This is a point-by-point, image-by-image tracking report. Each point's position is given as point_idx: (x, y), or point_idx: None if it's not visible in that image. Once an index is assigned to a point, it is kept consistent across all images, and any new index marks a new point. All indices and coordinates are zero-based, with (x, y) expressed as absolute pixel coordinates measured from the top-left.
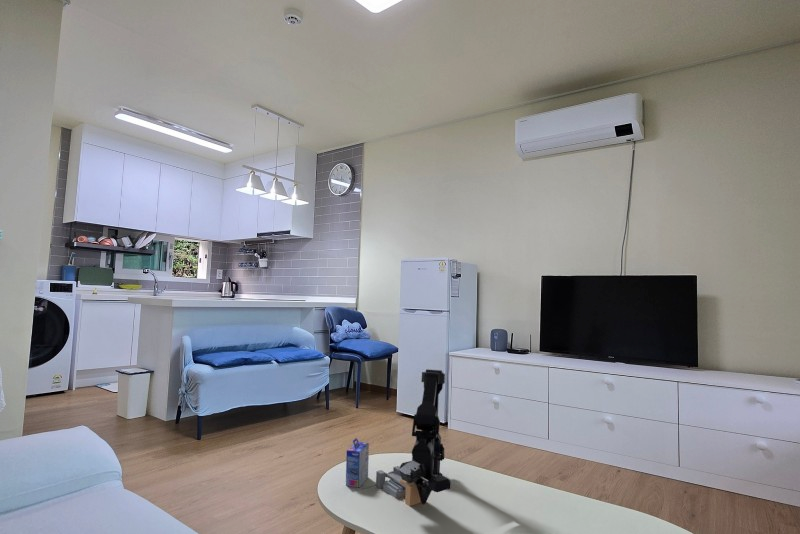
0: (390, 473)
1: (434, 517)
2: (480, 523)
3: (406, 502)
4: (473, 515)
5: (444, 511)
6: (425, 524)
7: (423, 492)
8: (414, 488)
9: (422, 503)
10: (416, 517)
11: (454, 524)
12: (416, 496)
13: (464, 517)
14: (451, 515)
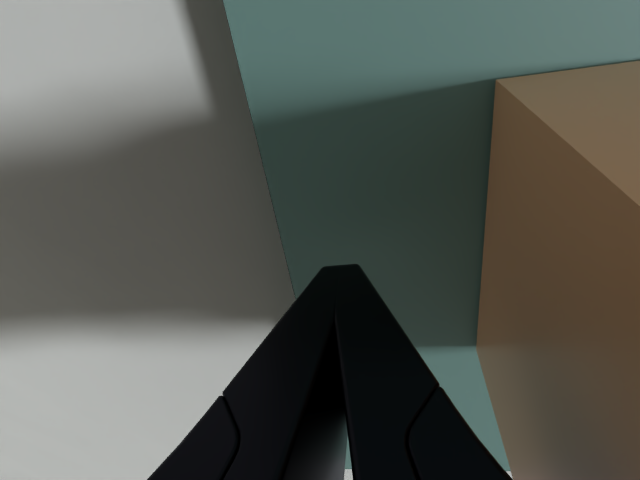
0: None
1: (170, 256)
2: (35, 454)
3: (626, 70)
4: (145, 476)
5: None
6: (12, 67)
7: (167, 466)
8: (636, 418)
9: (326, 270)
10: (222, 45)
11: (19, 332)
12: (522, 293)
13: (127, 431)
14: (175, 386)
